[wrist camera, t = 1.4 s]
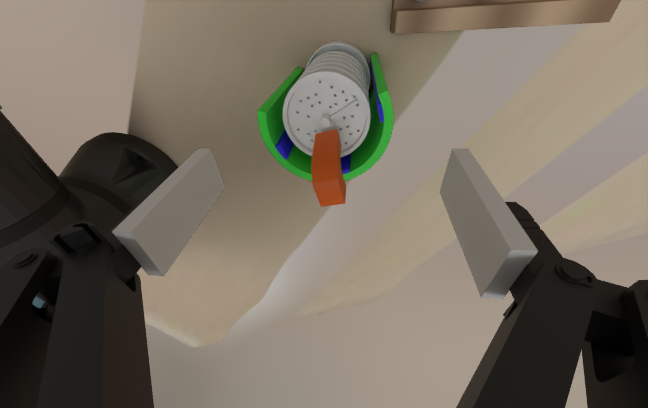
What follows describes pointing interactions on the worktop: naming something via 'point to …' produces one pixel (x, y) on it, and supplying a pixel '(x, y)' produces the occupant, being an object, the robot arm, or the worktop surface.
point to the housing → (494, 14)
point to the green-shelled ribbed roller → (329, 119)
